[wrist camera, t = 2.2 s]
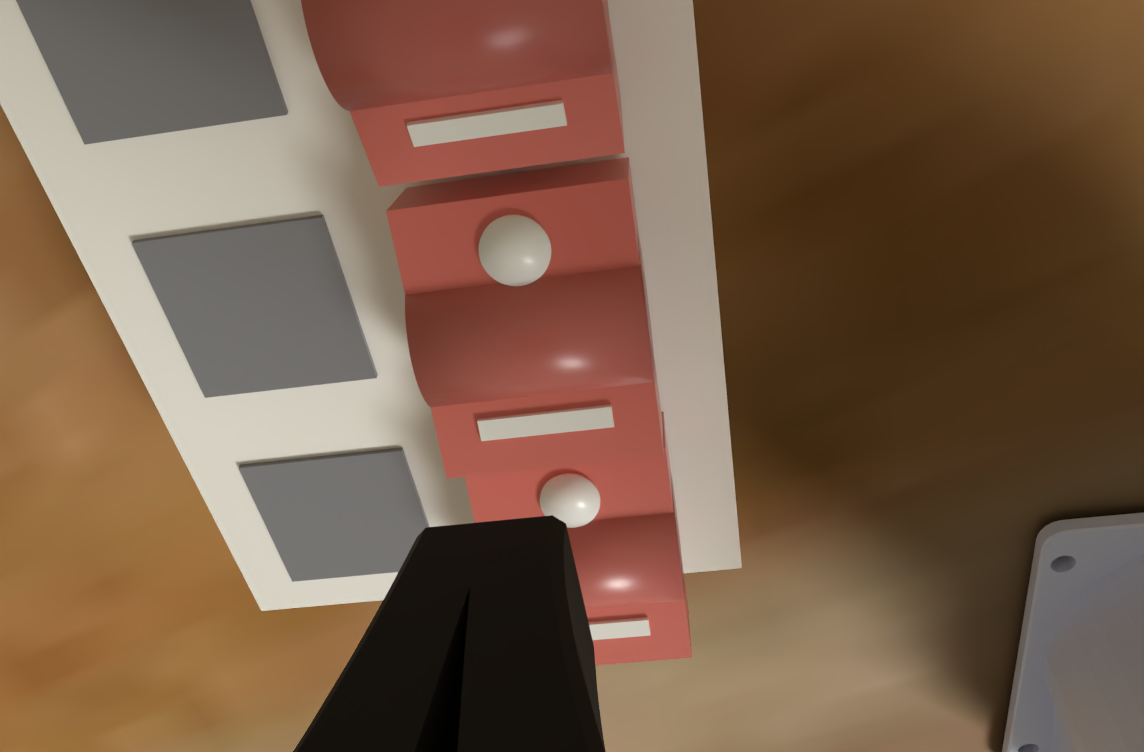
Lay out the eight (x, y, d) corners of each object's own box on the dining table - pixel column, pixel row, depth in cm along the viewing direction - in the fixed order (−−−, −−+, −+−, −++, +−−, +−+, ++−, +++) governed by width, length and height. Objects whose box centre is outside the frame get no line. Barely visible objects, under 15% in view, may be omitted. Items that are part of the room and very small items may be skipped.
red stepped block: (662, 404, 15) (664, 470, 13) (464, 425, 15) (441, 493, 14) (629, 150, 14) (627, 186, 12) (412, 180, 14) (377, 219, 12)
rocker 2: (687, 597, 18) (693, 674, 16) (518, 611, 18) (504, 688, 16) (663, 400, 16) (665, 461, 14) (478, 420, 17) (458, 481, 15)
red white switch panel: (723, 440, 21) (742, 571, 18) (304, 483, 22) (260, 614, 19) (653, -311, 13) (668, -291, 10) (16, -191, 14) (-132, -142, 11)
